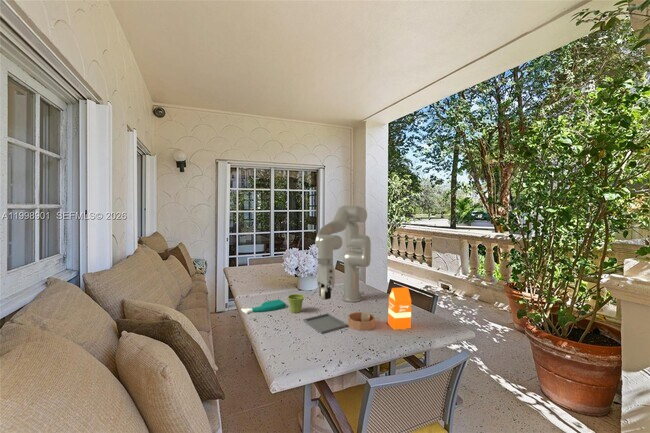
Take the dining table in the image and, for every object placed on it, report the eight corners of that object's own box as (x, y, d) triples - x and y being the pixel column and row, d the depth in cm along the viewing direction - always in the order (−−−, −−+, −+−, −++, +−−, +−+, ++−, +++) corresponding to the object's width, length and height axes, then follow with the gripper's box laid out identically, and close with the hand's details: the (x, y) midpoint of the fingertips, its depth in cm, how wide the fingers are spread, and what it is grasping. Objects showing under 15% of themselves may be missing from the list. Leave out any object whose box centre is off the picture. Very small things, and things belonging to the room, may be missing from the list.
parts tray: (327, 315, 161) (327, 313, 161) (347, 327, 146) (347, 324, 146) (303, 322, 152) (303, 319, 152) (321, 334, 138) (321, 331, 138)
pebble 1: (326, 296, 150) (326, 286, 150) (331, 298, 146) (331, 288, 146) (319, 297, 147) (319, 288, 147) (323, 300, 144) (323, 290, 143)
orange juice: (387, 323, 151) (388, 285, 150) (403, 322, 153) (404, 285, 152) (394, 330, 144) (395, 290, 143) (410, 328, 146) (411, 289, 145)
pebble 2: (365, 320, 153) (365, 311, 153) (371, 323, 150) (371, 313, 150) (359, 322, 151) (359, 312, 151) (365, 325, 147) (365, 315, 147)
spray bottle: (286, 308, 173) (245, 317, 160) (279, 303, 182) (240, 311, 169) (286, 303, 173) (245, 312, 160) (279, 298, 182) (240, 306, 169)
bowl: (362, 318, 158) (362, 310, 158) (380, 327, 147) (380, 318, 147) (342, 323, 151) (342, 315, 150) (359, 333, 139) (359, 324, 139)
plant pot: (301, 315, 162) (301, 299, 161) (285, 313, 164) (285, 298, 163) (305, 309, 171) (306, 294, 170) (290, 308, 173) (290, 293, 172)
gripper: (341, 263, 141) (340, 300, 142) (322, 257, 155) (322, 291, 156) (328, 265, 137) (328, 303, 138) (310, 259, 151) (310, 294, 152)
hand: (325, 296), depth 147 cm, fingers closed on pebble 1, 4 cm apart
